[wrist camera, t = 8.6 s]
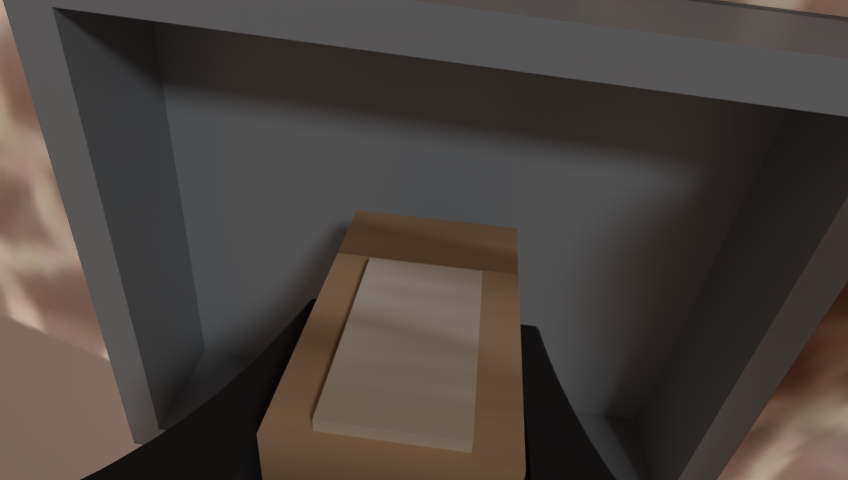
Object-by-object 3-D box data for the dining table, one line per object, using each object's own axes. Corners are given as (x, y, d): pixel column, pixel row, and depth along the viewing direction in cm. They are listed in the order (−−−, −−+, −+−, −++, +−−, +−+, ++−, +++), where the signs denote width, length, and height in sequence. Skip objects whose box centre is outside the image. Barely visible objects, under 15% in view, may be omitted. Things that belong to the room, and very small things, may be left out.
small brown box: (495, 349, 16) (490, 612, 11) (356, 331, 17) (275, 578, 11) (517, 219, 14) (528, 460, 8) (357, 201, 14) (255, 422, 9)
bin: (866, 20, 13) (982, 76, 10) (653, 431, 22) (679, 535, 19) (107, -80, 14) (-14, -57, 11) (188, 356, 23) (134, 443, 19)
